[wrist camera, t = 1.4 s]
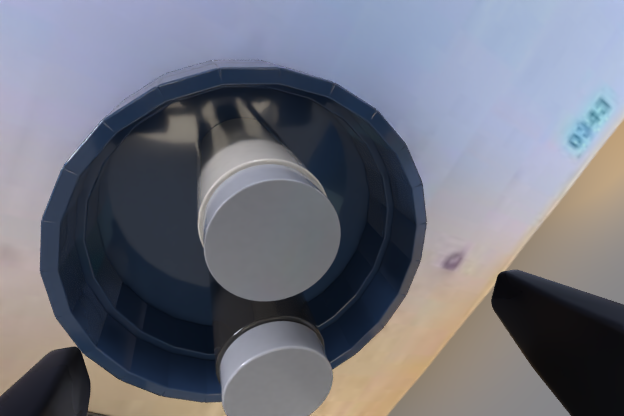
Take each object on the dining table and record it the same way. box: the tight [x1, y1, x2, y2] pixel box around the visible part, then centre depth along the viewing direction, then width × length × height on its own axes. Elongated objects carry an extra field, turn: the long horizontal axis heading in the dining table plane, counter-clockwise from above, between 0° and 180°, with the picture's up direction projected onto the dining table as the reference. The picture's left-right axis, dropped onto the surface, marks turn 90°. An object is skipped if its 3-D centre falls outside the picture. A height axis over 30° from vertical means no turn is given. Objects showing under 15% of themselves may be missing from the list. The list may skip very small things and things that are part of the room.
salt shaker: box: [196, 118, 341, 301], centre depth 15 cm, size 5×5×8 cm
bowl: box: [40, 60, 427, 403], centre depth 19 cm, size 16×16×5 cm
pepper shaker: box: [209, 271, 333, 416], centre depth 18 cm, size 5×5×8 cm
